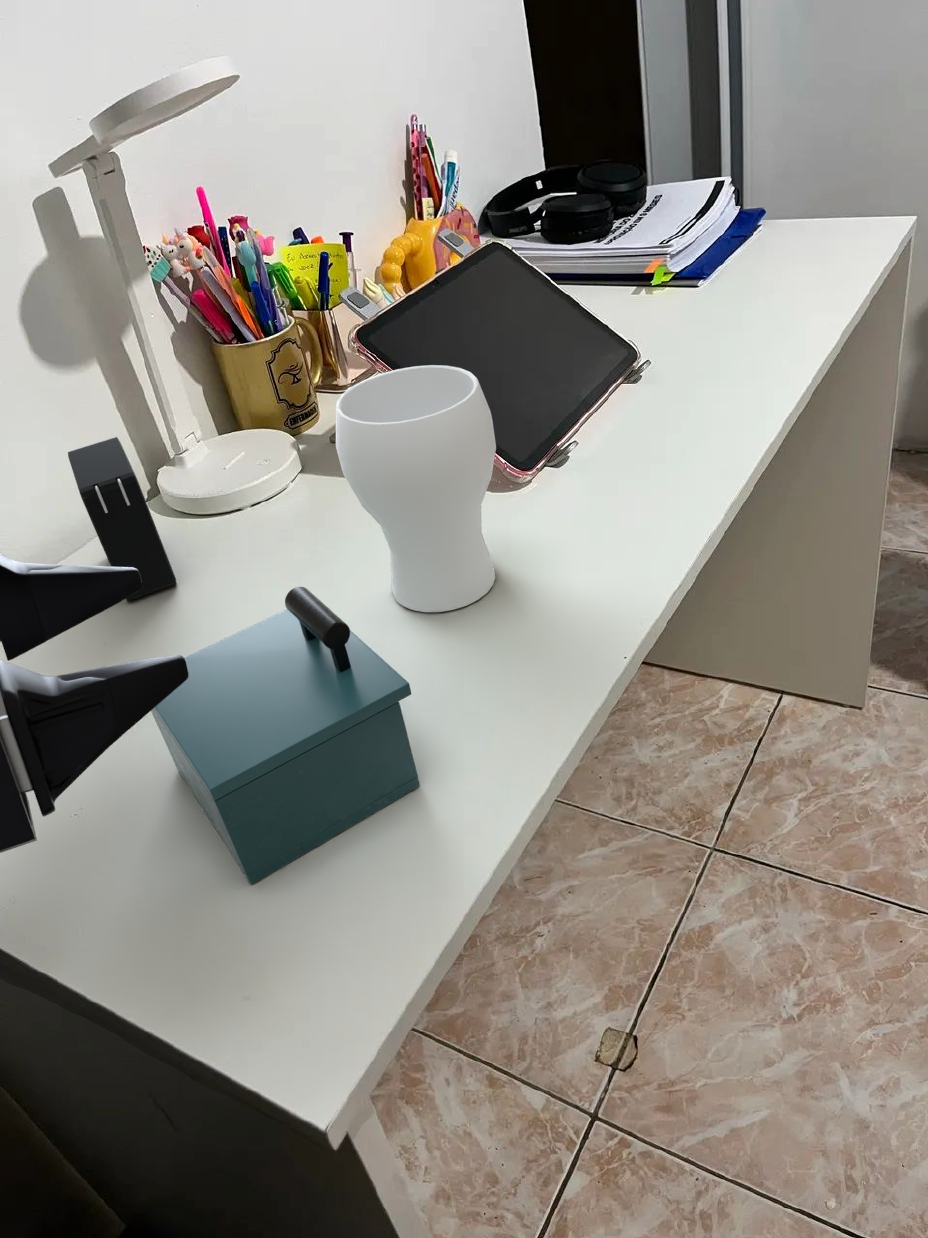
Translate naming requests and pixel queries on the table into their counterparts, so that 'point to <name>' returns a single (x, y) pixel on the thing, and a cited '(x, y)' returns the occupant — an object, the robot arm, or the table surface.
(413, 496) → the white vase
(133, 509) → the electronic device
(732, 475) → the table surface
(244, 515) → the table surface
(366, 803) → the teal box
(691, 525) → the table surface
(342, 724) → the box lid
